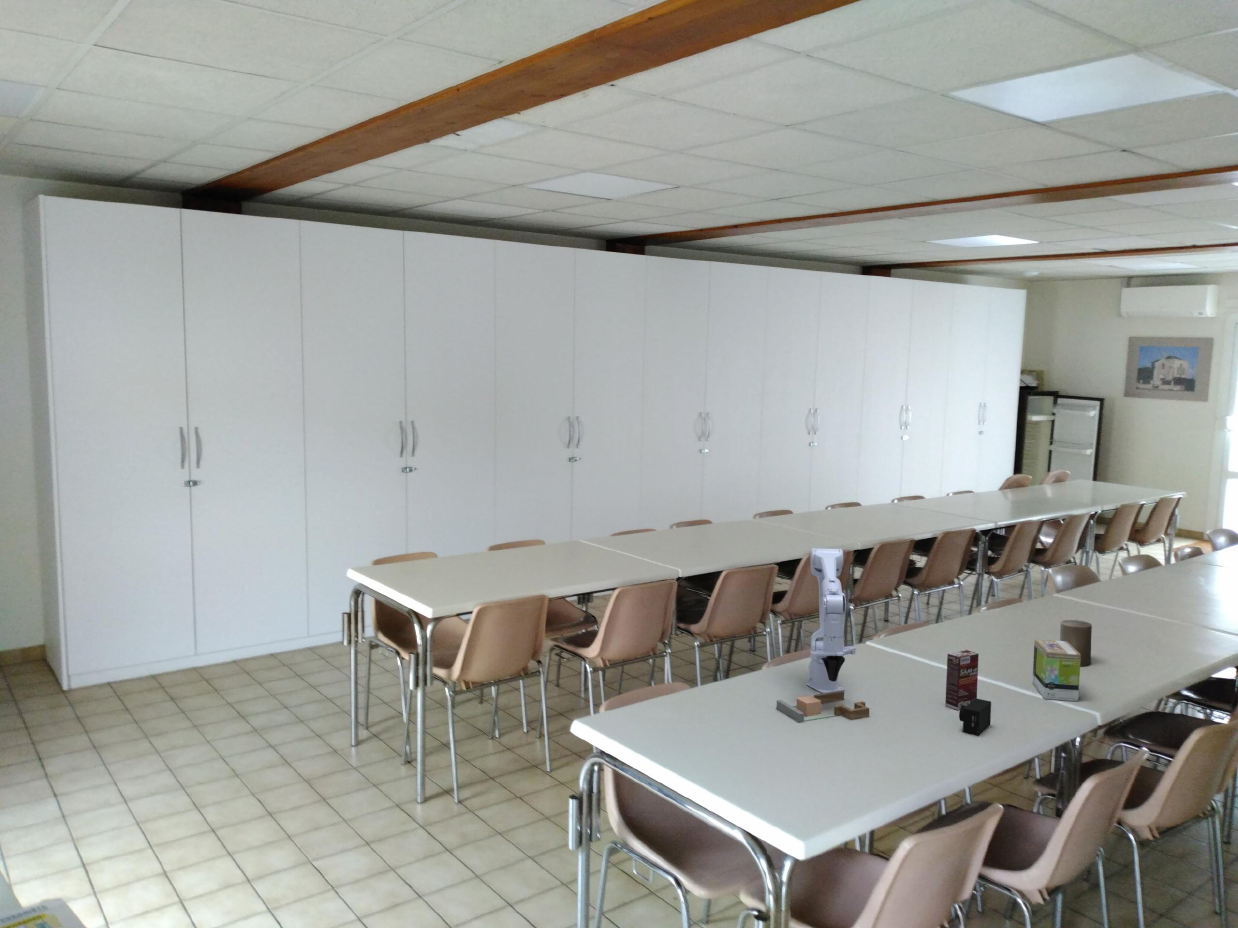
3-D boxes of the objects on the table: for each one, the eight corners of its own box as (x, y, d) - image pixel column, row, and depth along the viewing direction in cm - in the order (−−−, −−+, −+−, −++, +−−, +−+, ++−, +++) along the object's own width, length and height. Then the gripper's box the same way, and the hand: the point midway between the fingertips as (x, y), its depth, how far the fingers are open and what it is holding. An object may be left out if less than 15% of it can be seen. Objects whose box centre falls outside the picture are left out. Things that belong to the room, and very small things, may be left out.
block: (796, 711, 264) (796, 697, 264) (810, 708, 266) (810, 695, 266) (806, 716, 259) (806, 703, 259) (820, 714, 261) (821, 700, 261)
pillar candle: (1096, 666, 304) (1097, 622, 303) (1066, 666, 304) (1068, 622, 303) (1081, 658, 314) (1083, 615, 312) (1053, 658, 314) (1055, 615, 313)
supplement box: (958, 710, 263) (959, 657, 262) (944, 705, 268) (946, 653, 266) (977, 705, 268) (979, 653, 266) (964, 700, 272) (965, 649, 270)
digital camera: (970, 720, 256) (971, 696, 255) (990, 725, 252) (991, 700, 252) (958, 731, 248) (959, 706, 247) (978, 736, 244) (979, 711, 244)
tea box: (1079, 701, 270) (1081, 653, 269) (1043, 699, 272) (1045, 651, 271) (1065, 685, 285) (1067, 639, 284) (1031, 683, 287) (1033, 638, 286)
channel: (813, 702, 270) (813, 694, 270) (841, 698, 274) (841, 690, 274) (845, 720, 256) (845, 712, 256) (874, 715, 260) (874, 707, 259)
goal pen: (776, 708, 266) (776, 700, 266) (811, 702, 270) (811, 694, 270) (799, 722, 255) (799, 713, 254) (835, 716, 259) (835, 707, 259)
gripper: (820, 641, 258) (819, 687, 259) (862, 635, 263) (861, 681, 264) (806, 635, 264) (805, 680, 265) (847, 629, 270) (846, 674, 271)
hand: (832, 680), depth 265 cm, fingers closed
